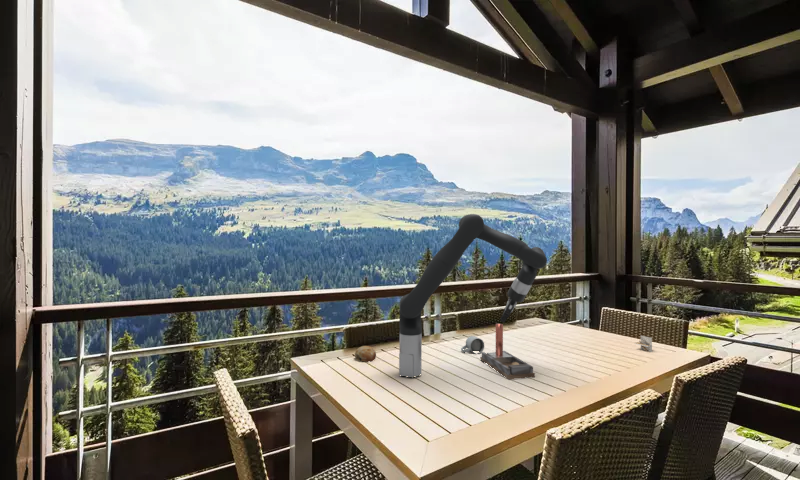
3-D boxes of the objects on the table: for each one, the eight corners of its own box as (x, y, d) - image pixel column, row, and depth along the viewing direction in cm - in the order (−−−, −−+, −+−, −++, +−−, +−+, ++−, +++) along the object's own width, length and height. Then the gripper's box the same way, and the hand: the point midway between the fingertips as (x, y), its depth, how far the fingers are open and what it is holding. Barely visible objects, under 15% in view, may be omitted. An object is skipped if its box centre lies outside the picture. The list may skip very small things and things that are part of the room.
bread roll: (353, 366, 184) (348, 353, 181) (363, 352, 192) (360, 339, 189) (370, 370, 179) (366, 356, 176) (381, 355, 188) (377, 341, 185)
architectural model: (648, 353, 195) (648, 338, 195) (634, 350, 202) (634, 335, 202) (652, 352, 197) (652, 337, 197) (638, 349, 203) (638, 335, 203)
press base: (534, 377, 160) (534, 364, 160) (508, 379, 157) (508, 366, 157) (503, 358, 185) (503, 347, 185) (480, 360, 182) (480, 349, 182)
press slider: (512, 362, 174) (512, 325, 174) (494, 363, 172) (494, 326, 172) (503, 357, 182) (503, 322, 182) (486, 358, 180) (486, 322, 180)
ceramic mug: (478, 348, 202) (477, 334, 202) (484, 353, 194) (484, 337, 194) (458, 350, 199) (458, 335, 199) (464, 355, 191) (464, 339, 191)
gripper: (514, 278, 179) (499, 306, 186) (509, 291, 167) (493, 320, 174) (529, 286, 177) (513, 314, 184) (525, 299, 165) (508, 328, 172)
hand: (503, 317), depth 179 cm, fingers open, 8 cm apart
